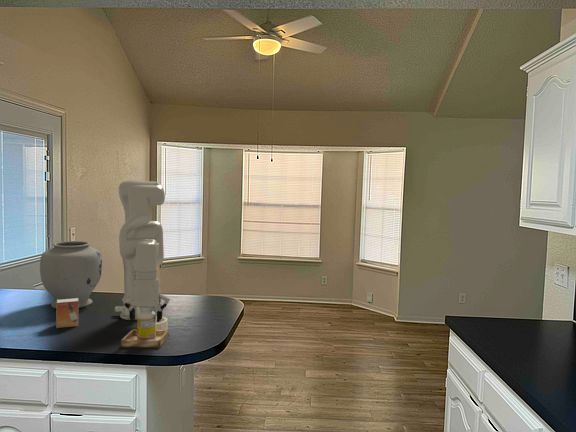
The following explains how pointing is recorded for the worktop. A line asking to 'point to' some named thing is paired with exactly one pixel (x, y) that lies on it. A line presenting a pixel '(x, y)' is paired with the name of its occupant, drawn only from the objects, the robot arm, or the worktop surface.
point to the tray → (132, 341)
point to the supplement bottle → (146, 324)
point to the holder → (162, 324)
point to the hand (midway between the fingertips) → (145, 320)
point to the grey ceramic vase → (71, 271)
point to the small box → (67, 313)
